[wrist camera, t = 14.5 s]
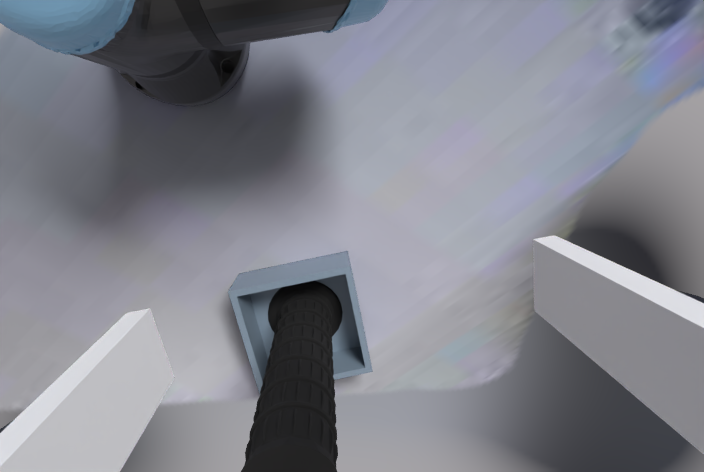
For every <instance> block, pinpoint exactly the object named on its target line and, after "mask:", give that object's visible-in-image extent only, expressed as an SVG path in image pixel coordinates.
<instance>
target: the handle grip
mask: <svg viewBox="0 0 704 472" xmlns="http://www.w3.org/2000/svg"><path fill="white" fill-rule="evenodd" d="M342 313H343V312H342V306H341V303H340V300H339V298H338V296H337V295H336V294H335V293H334V292H333V290H332V289H330V288H329V287H328V286H326V285H325V284H322V283H320V282H317V281H309V282H304V283H300V284H295V285H290V286H285V287H282V288H280V289H279V290H278V291H277V292H276V293H275V295H274V296H273V298H272V300H271V302H270V303H269V309H268V321H269V323H270V326H271V329H272V330H273V332H274V338H273V342H272V347H271V349H270V355H269V358H268V362H267V366H266V370H265V371H266V373H265V375H264V378H263V385H262V387H261V390H260V397H259V399H258V401H257V408H256V412H255V415H254V423H253V426H252V428H251V431H250V441H249V443H248V444H247V448H246V452H245V454H246V462H245V466H244V467H243V469H242V471H241V472H337V470H336V460H337V456H338V450H337V445H336V440H337V430H336V427H335V423H336V414H335V406H336V405H335V401H334V397H335V390H334V378H333V375H334V369H333V359H332V357H333V351H332V350H333V346H332V336H333V335H334V334H335V333H336V331H337V330H338V329H339V327H340V324H341V322H342Z"/></svg>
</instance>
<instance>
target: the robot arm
mask: <svg viewBox="0 0 704 472" xmlns="http://www.w3.org/2000/svg"><path fill="white" fill-rule="evenodd" d="M387 1H388V0H0V23H1V24H3V25H4V26H5V27H7V28H9V29H10V30H12V31H14V32H16V33H18V34H20V35H22V36H24V37H26V38H28V39H31V40H33V41H34V42H36V43H37V44H39V45H41V46H43V47H44V48H47V49H50V50H53V51H55V52H61V53H63V54H71V55H74V56H77V57H80V58H83V59H86V60H89V61H93V62H96V63H99V64H102V65H105V66H108V67H111V68H114V69H116V70H117V71H118V72H119V73H120V74H121V75H122V76H123V78H124V79H125V80H127V81H128V82H129V83H130V84H131V85H132V86H134V87H135V88H136V89H138V90H139V91H141V92H142V93H144V94H146V95H148V96H150V97H152V98H154V99H157V100H159V101H162V102H166V103H170V104H175V105H181V106H196V105H202V104H206V103H209V102H211V101H214V100H216V99H218V98H220V97H221V96H223V95H224V94H225V93H227V92H228V91H229V90H230V89H231V88H232V87H233V86H234V85H235V84H236V82H237V81H238V79H239V78H240V76H241V74H242V72H243V70H244V68H245V65H246V62H247V59H248V55H249V47H250V43H251V42H257V41H263V40H270V39H276V38H282V37H289V36H295V35H301V34H307V33H314V32H320V31H323V32H325V33H331V32H333V31H336V30H338V29H339V28H341V27H345V26H349V25H354V24H359V23H363V22H367V21H369V20H370V19H372V18H374V17H375V16H376V15H377V14H379V13H380V12H381V11H382V9H383V8H384V7H385V5H386V3H387ZM533 263H534V311H535V312H537V313H538V314H539V315H540V316H542V317H543V318H544V319H545V320H546V321H547V322H548V323H550V324H551V325H552V326H553V327H554V328H556V329H557V330H558V331H559V332H560V333H561V334H563V335H564V336H565V337H566V338H567V339H569V340H570V341H571V342H572V343H573V344H574V345H576V346H577V347H578V348H579V349H580V350H581V351H583V352H584V353H585V354H586V355H587V356H588V357H590V358H591V359H592V360H593V361H594V362H596V363H597V364H598V365H599V366H600V367H601V368H603V369H604V370H605V371H606V372H607V373H608V374H610V375H611V376H612V377H613V378H615V379H616V380H617V381H618V382H619V383H620V384H622V385H623V386H624V387H625V388H626V389H627V390H629V391H630V392H631V393H632V394H633V395H634V396H636V397H637V398H638V399H639V400H640V401H641V402H643V403H644V404H645V405H646V406H647V407H649V408H650V409H651V410H652V411H653V412H654V413H656V414H657V415H658V416H659V417H660V418H661V419H663V420H664V421H665V422H666V423H668V424H669V425H670V426H671V427H672V428H673V429H674V430H676V431H677V432H678V433H679V434H681V436H683V437H684V438H685V439H686V440H687V441H689V442H690V443H691V444H692V445H693V446H695V447H696V448H697V449H698V450H699V451H700V452H702V453H703V454H704V298H701V297H699V296H696V295H692V294H688V293H684V292H681V291H677V290H673V289H671V288H669V287H667V286H664V285H662V284H660V283H658V282H656V281H653V280H651V279H649V278H647V277H644V276H642V275H640V274H638V273H636V272H634V271H631V270H629V269H627V268H624V267H623V266H621V265H618V264H616V263H614V262H612V261H609V260H607V259H605V258H603V257H601V256H598V255H596V254H594V253H592V252H590V251H587V250H585V249H583V248H581V247H579V246H577V245H574V244H572V243H570V242H568V241H566V240H563V239H561V238H559V237H557V236H549V237H544V238H538V239H533ZM174 378H175V377H174V374H173V371H172V368H171V365H170V363H169V360H168V357H167V354H166V351H165V349H164V346H163V343H162V340H161V337H160V335H159V332H158V329H157V326H156V323H155V321H154V318H153V315H152V312H151V309H145V310H139V311H134V312H128V313H126V314H125V315H124V316H123V317H122V318H121V319H120V320H119V321H118V322H117V323H116V324H115V325H114V326H112V327H111V328H110V329H109V330H108V331H107V332H106V333H105V334H104V335H103V336H102V337H101V338H100V339H99V340H98V341H97V342H96V343H95V344H94V345H92V346H91V347H90V348H89V349H88V350H87V351H86V352H85V353H84V354H83V355H82V356H81V357H80V358H79V359H78V360H77V361H76V362H75V363H74V364H72V365H71V366H70V367H69V368H68V369H67V370H66V371H65V372H64V373H63V374H62V375H61V376H60V377H59V378H58V379H57V380H56V381H55V382H54V383H52V384H51V385H50V386H49V387H48V388H47V389H46V390H45V391H44V392H43V393H42V394H41V395H40V396H39V397H38V398H37V399H36V400H35V401H34V402H33V403H31V404H30V405H29V406H28V407H27V408H26V409H25V410H24V411H23V412H22V413H21V414H20V415H19V416H18V417H17V418H16V419H14V420H13V421H12V422H10V423H9V424H7V425H6V426H4V427H3V428H1V429H0V472H120V471H121V469H122V467H123V466H124V464H125V462H126V460H127V459H128V457H129V455H130V454H131V452H132V450H133V448H134V447H135V445H136V443H137V442H138V440H139V438H140V436H141V435H142V433H143V431H144V430H145V428H146V426H147V425H148V423H149V421H150V419H151V418H152V416H153V414H154V413H155V411H156V409H157V407H158V406H159V404H160V402H161V401H162V399H163V397H164V395H165V394H166V392H167V390H168V389H169V387H170V385H171V383H172V382H173V380H174Z"/></svg>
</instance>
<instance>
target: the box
mask: <svg viewBox="0 0 704 472" xmlns="http://www.w3.org/2000/svg"><path fill="white" fill-rule="evenodd" d="M309 281H317V282H320V283H322V284H325V285H326V286H328V287H329V288H330V289H332V290H333V292H334V293H335V294H336V295H337V296H338V298H339V300H340V303H341V306H342V312H343V313H342V322H341V324H340V327H339V329H338V330H337V331H336V333H335V334H334V335H333V336H332V346H333V350H332V351H333V357H332V359H333V369H334V375H333V378H334V380H336V379H341V378H345V377H350V376H355V375H359V374H364V373H368V372H373V371H372V366H371V361H370V356H369V351H368V346H367V342H366V337H365V332H364V327H363V322H362V317H361V312H360V308H359V303H358V298H357V293H356V288H355V283H354V278H353V273H352V269H351V264H350V260H349V255H348V251H345V252H340V253H336V254H331V255H326V256H321V257H316V258H312V259H307V260H302V261H297V262H292V263H288V264H283V265H278V266H273V267H268V268H264V269H259V270H254V271H249V272H244V273H240V274H239V275H238V276H237V278H236V280H235V281H234V283H233V285H232V286H231V288H230V290H229V291H228V293H229V297H230V300H231V303H232V306H233V310H234V313H235V316H236V319H237V323H238V326H239V329H240V332H241V336H242V339H243V342H244V345H245V349H246V352H247V355H248V358H249V362H250V365H251V368H252V371H253V375H254V378H255V381H256V384H257V387H258V391H259V394H260V390H261V387H262V385H263V378H264V375H265V373H266V371H265V370H266V366H267V362H268V358H269V355H270V349H271V347H272V342H273V338H274V332H273V330H272V329H271V326H270V323H269V321H268V309H269V303H270V302H271V300H272V298H273V296H274V295H275V293H276V292H277V291H278V290H279V289H280V288H282V287H285V286H290V285H295V284H300V283H304V282H309Z"/></svg>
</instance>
